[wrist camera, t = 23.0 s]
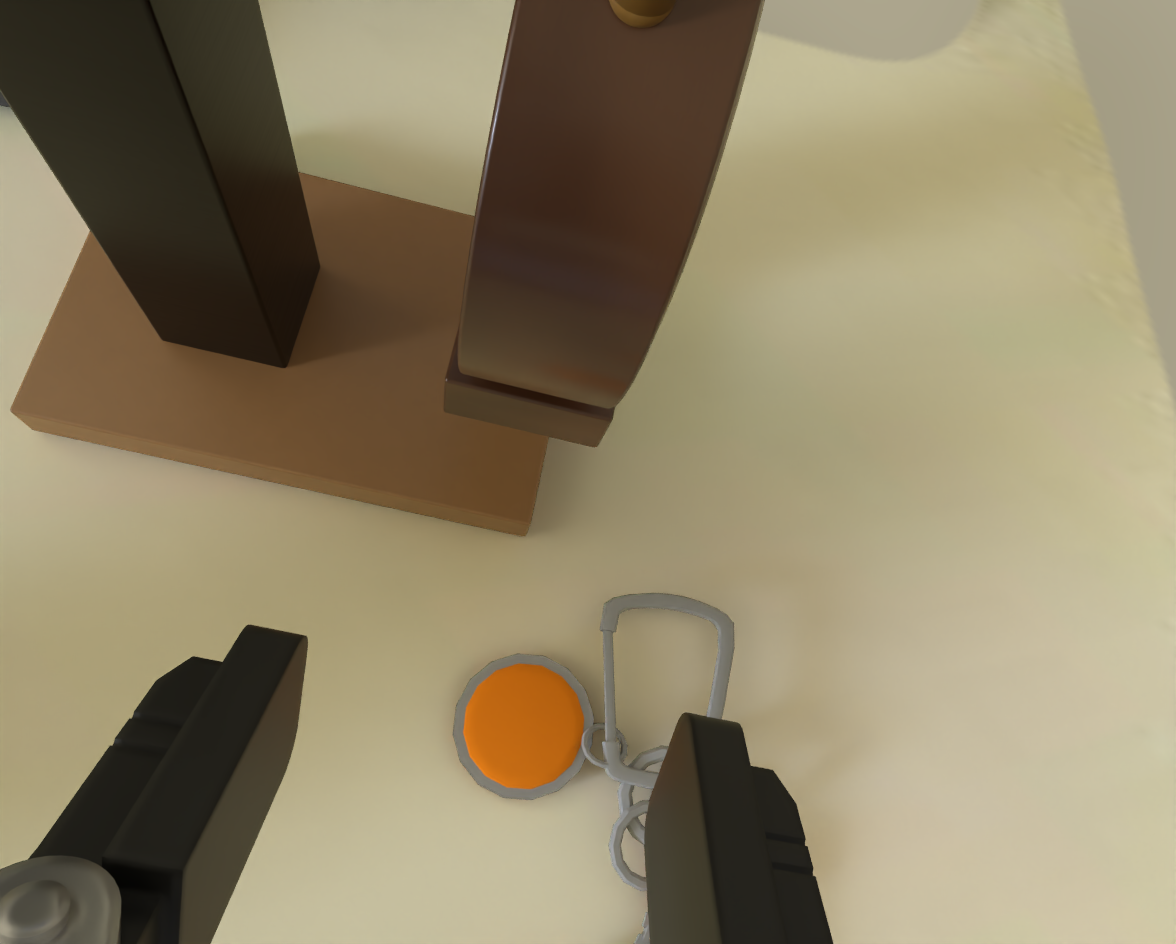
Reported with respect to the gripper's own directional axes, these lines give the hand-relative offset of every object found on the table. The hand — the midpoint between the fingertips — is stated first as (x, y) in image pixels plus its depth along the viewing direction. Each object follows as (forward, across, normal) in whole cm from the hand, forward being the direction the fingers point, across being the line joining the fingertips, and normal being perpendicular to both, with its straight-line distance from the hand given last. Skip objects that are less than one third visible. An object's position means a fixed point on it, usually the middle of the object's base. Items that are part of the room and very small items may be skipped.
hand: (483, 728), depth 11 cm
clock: (+10, 0, -3) cm, 10 cm away
